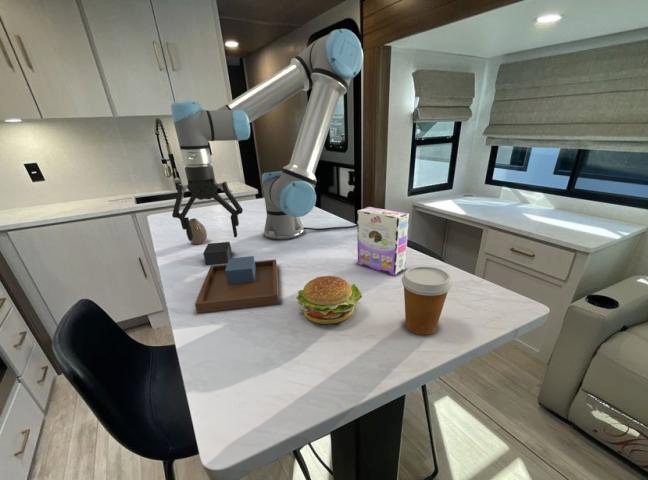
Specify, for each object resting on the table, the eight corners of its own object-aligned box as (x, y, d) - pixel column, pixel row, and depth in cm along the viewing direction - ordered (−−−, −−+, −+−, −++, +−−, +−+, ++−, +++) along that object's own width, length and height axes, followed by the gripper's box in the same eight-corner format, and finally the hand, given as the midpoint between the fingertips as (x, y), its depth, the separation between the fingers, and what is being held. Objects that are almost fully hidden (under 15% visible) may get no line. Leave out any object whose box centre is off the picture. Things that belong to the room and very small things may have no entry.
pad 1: (231, 252, 109) (229, 241, 107) (229, 262, 101) (226, 251, 99) (210, 254, 108) (208, 243, 106) (206, 265, 100) (203, 253, 98)
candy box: (405, 269, 93) (410, 212, 85) (394, 276, 89) (398, 217, 81) (368, 258, 101) (369, 205, 93) (356, 263, 97) (356, 209, 89)
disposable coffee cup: (415, 344, 62) (422, 290, 56) (389, 320, 70) (392, 270, 64) (454, 332, 65) (464, 279, 59) (425, 310, 73) (431, 262, 67)
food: (313, 336, 66) (310, 303, 62) (291, 305, 77) (288, 275, 73) (370, 319, 70) (371, 287, 66) (342, 292, 82) (342, 263, 78)
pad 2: (255, 268, 94) (253, 256, 92) (254, 281, 86) (252, 268, 84) (231, 271, 93) (228, 258, 91) (227, 284, 85) (224, 271, 83)
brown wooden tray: (277, 266, 97) (276, 259, 96) (278, 304, 78) (277, 295, 76) (212, 273, 95) (210, 265, 93) (197, 313, 75) (194, 304, 74)
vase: (209, 243, 118) (204, 220, 114) (189, 246, 115) (183, 223, 111) (207, 238, 123) (202, 215, 119) (188, 241, 121) (182, 218, 117)
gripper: (146, 168, 85) (168, 244, 96) (242, 165, 89) (253, 238, 99) (155, 165, 92) (175, 236, 102) (244, 162, 95) (254, 231, 106)
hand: (213, 237), depth 101 cm, fingers open, 13 cm apart
